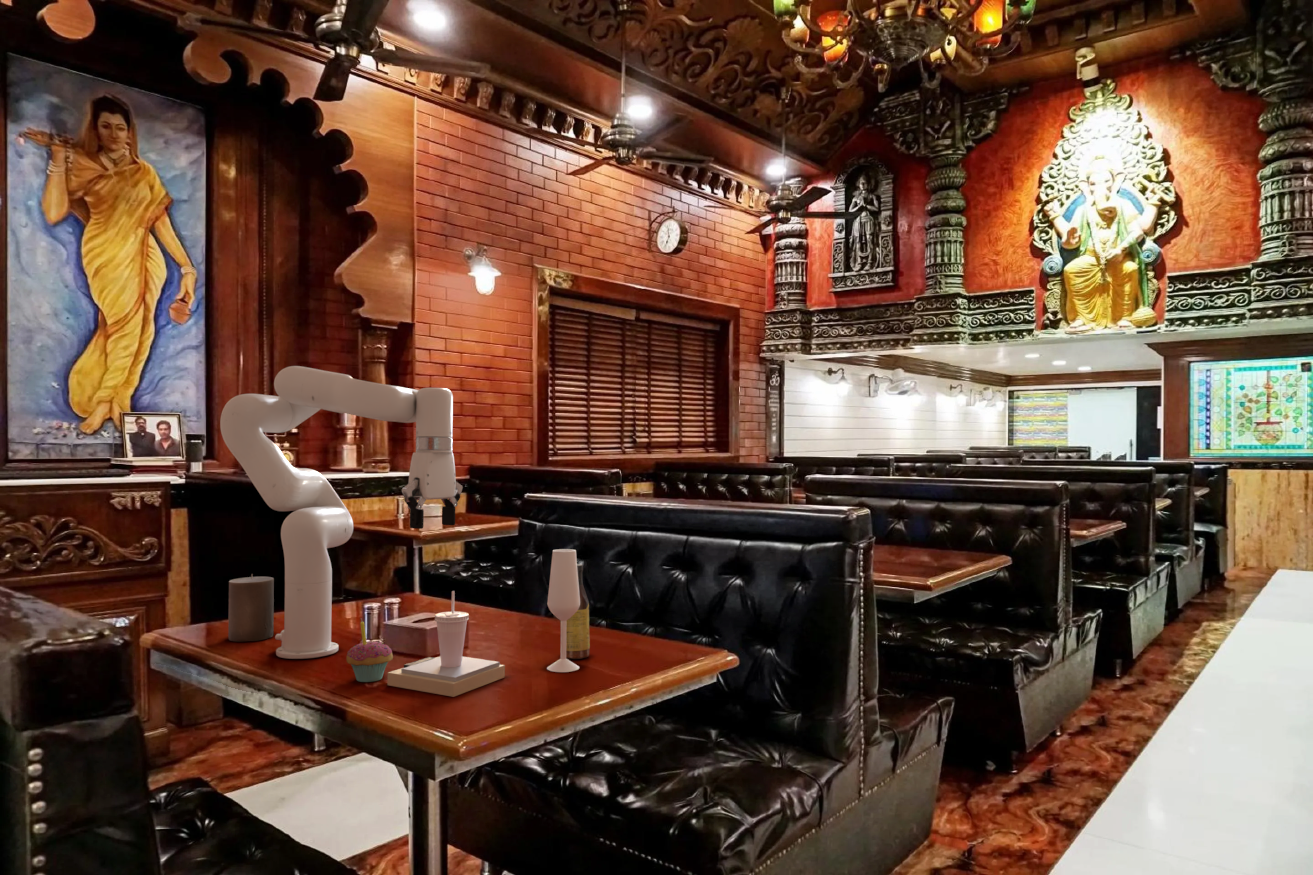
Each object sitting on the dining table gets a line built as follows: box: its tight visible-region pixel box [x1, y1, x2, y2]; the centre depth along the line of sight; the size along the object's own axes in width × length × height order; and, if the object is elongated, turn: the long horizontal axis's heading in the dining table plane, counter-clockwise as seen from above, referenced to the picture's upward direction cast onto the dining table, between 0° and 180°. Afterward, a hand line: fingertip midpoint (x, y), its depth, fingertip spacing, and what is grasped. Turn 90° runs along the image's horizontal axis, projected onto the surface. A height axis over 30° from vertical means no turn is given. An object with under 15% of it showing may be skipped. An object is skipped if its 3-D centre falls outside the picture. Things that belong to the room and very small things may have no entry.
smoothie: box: [434, 590, 470, 668], centre depth 159 cm, size 6×6×14 cm
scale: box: [386, 655, 506, 698], centre depth 159 cm, size 16×15×3 cm
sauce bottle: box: [559, 563, 591, 660], centre depth 180 cm, size 7×6×20 cm
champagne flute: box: [546, 548, 580, 673], centre depth 170 cm, size 7×7×24 cm
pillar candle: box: [227, 573, 275, 643], centre depth 196 cm, size 10×10×15 cm
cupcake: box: [346, 617, 394, 683], centre depth 161 cm, size 9×8×12 cm
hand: (432, 526), depth 176 cm, fingers open, 9 cm apart
